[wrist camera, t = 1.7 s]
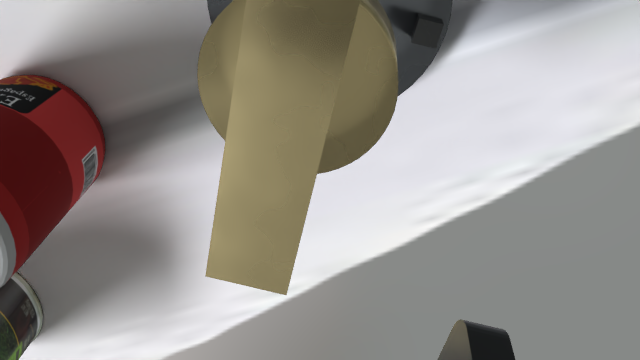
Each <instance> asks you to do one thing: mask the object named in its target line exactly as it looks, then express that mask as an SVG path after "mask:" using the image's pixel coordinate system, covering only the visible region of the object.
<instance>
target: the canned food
mask: <svg viewBox="0 0 640 360" xmlns="http://www.w3.org/2000/svg"><path fill="white" fill-rule="evenodd" d="M104 155H105V138H104V135H103V131H102V128H101V125H100V123H99V121H98V119H97V117H96V115H95V114H94V112H93V111H92V110H91V108H90V107H89V106H88V104H87V103H86V102H85V101H84V100H83V99H82V98H81V97H80V96H79V95H78V94H76V93H75V92H74V91H73V90H71V89H70V88H68V87H67V86H65V85H63V84H61V83H60V82H58V81H55V80H52V79H50V78H47V77H42V76H37V75H20V76H12V77H8V78H3V79H1V80H0V288H1V287H2V286H3V285H5V284H6V283H7V281H8V280H9V279H10V278H11V277H12V276H13V275H14V273H15V272H17V271H18V269H19V268H20V267H21V266H22V265H23V264H24V263H25V261H26V260H27V259H28V258H29V257H30V256H31V254H32V253H33V252H34V251H35V250H36V249H37V247H38V246H39V245H40V244H41V243H42V242H43V240H44V239H45V238H46V237H47V236H48V235H49V233H50V232H51V231H52V230H53V229H54V228H55V226H56V225H57V224H58V223H59V222H60V221H61V219H62V218H63V217H64V216H65V215H66V214H67V212H68V211H69V210H70V209H71V208H72V207H73V206H74V204H75V203H76V202H77V201H78V200H79V199H80V197H81V196H82V195H83V194H84V193H85V192H86V190H87V189H88V188H89V187H90V186H91V185H92V183H93V182H94V181H95V180H96V178H97V177H98V175H99V173H100V170H101V168H102V165H103V161H104Z"/></svg>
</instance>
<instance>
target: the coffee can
mask: <svg viewBox="0 0 640 360" xmlns="http://www.w3.org/2000/svg"><path fill="white" fill-rule="evenodd" d="M42 322H43V313H42V308H41V305H40V302H39V300H38V298H37V296H36V294H35V293H34V291H33V290H32V288H31V287H30V285H29V284H28V283H27V282H26V280H25V279H24V278H22V277H21V276H20V275H19V274H18V273H17V272H15V273H14V275H13V276H12V277H11V278H10V279H9V280H8V281H7V283H6V284H5V285H3V286H2V287H1V288H0V360H19V358H20V357H21V355H22V354H23V353H24V351H25V350H26V349H27V347H28V346H29V344H30V343H31V342H32V341H33V340H34V339H35V338H36V337H37V335H38V334H39V332H40V330H41V327H42Z"/></svg>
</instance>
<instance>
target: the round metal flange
mask: <svg viewBox="0 0 640 360" xmlns="http://www.w3.org/2000/svg"><path fill="white" fill-rule="evenodd" d="M232 1H233V0H207V2H208V10H209V14H210V19H211V23H213V22H214V21H215V19H216V18H217V16H218V15H219V14H220V13H221V12H222V11H223V10H224V9H225V8H226V7H227V6H228V5H229V4H230V3H231V2H232ZM378 1H379V2H380V4H381V6H382V7H383V9H384V10H385V12H386V14H387V16H388V18H389V20H390V23H391V26H392V29H393V32H394V36H395V42H396V53H397V69H398V95H397V96H399V95H400V94H402V93H403V92H404V91H405V90H406V89H408V88H409V87H410V86H411V85H413V84H414V82H415V81H416V80H417V79H418V78H419V77H420V76H421V75H422V74H423V73H424V72H425V70H426V69H427V68H428V66H429V65H430V64H431V62H432V61H433V59H434V57H435V55H436V54H437V52H438V50H439V48H440V46H441V44H442V41H443V39H444V36H445V34H446V31H447V27H448V23H449V20H450V15H451V7H452V0H378Z"/></svg>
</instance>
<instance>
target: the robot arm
mask: <svg viewBox="0 0 640 360" xmlns="http://www.w3.org/2000/svg"><path fill="white" fill-rule="evenodd" d="M438 360H515V357H514V353H513V349H512V345H511V342H510V338H509V335H508V333H507V332H506V331H505V330H503V329H499V328H494V327H491V326H486V325H482V324H478V323H473V322H469V321H465V320H458V321H457V322H456V323H455V325H454V327H453V328H452V330H451V332H450V334H449V337H448V339H447V341H446V343H445V345H444V347H443V349H442V351H441V353H440V355H439V358H438Z"/></svg>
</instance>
